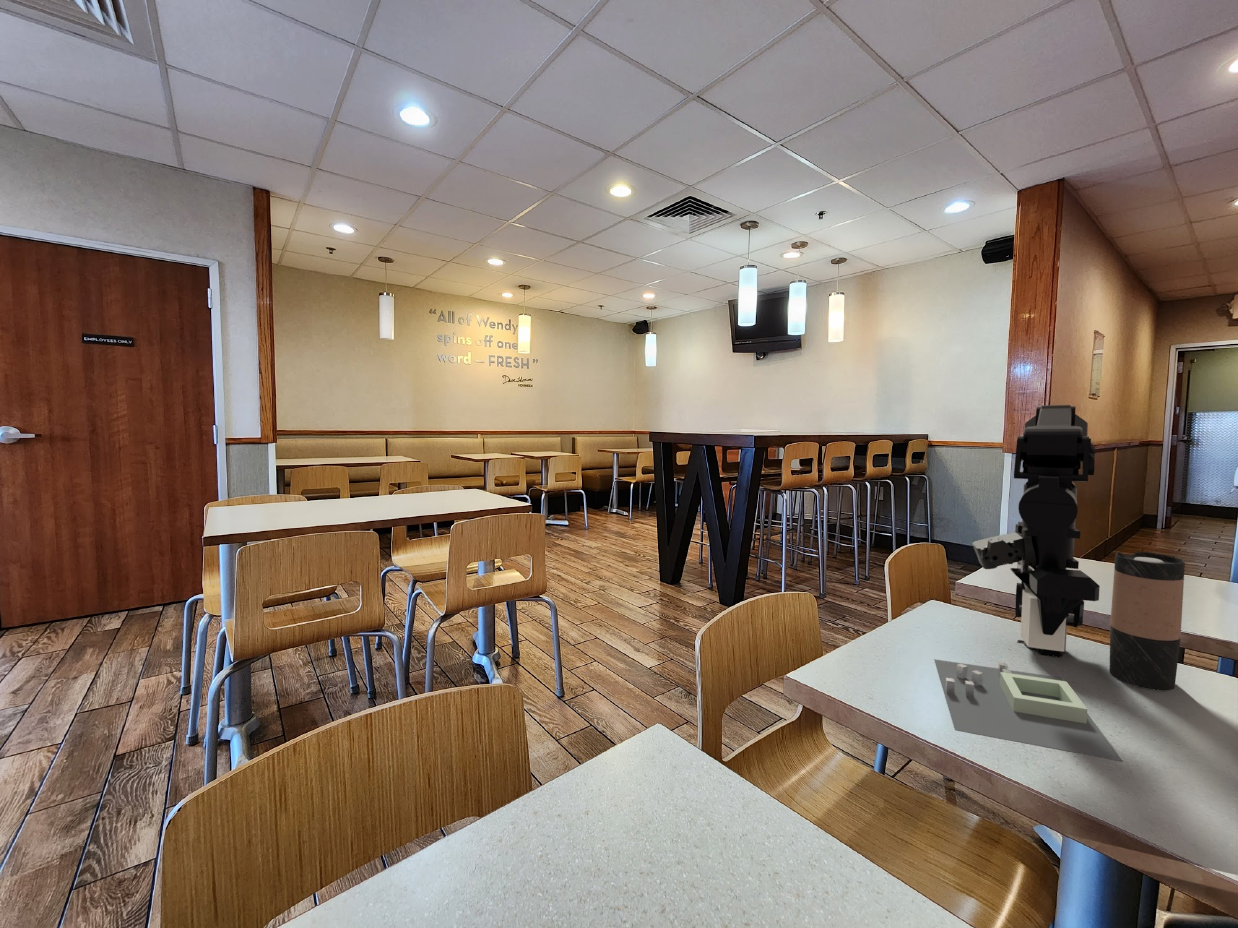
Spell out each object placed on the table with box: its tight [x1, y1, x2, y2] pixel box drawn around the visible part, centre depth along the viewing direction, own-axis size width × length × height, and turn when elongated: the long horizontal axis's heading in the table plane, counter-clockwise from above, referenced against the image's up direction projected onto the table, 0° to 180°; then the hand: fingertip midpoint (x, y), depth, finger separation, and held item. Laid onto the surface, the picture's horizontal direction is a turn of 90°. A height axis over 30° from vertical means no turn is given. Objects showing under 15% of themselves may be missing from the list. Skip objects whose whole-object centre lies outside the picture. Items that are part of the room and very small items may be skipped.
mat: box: [934, 658, 1124, 762], centre depth 77 cm, size 22×17×1 cm
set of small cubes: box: [946, 661, 1012, 698], centre depth 82 cm, size 10×9×2 cm
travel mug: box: [1109, 551, 1186, 692], centre depth 82 cm, size 8×8×20 cm
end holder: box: [1000, 672, 1088, 724], centre depth 76 cm, size 8×8×2 cm
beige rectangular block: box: [1020, 589, 1066, 652], centre depth 75 cm, size 4×4×7 cm
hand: (1042, 628), depth 75 cm, fingers closed on beige rectangular block, 4 cm apart
